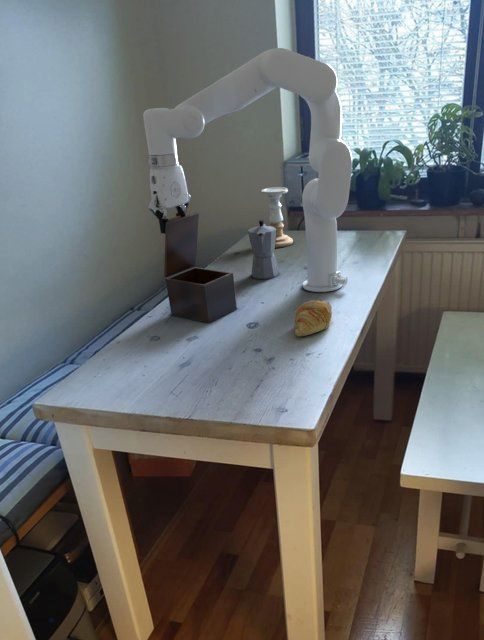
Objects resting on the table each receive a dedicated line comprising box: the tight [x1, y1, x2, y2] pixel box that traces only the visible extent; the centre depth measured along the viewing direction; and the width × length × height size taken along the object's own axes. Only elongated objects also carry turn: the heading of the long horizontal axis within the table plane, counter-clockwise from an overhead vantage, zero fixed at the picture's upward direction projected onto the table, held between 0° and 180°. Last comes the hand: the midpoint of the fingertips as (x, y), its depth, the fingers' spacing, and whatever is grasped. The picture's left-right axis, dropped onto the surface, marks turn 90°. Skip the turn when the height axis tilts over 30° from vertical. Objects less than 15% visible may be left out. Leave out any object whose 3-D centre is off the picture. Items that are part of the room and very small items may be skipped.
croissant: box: [294, 299, 333, 337], centre depth 163 cm, size 21×10×8 cm, turn 156°
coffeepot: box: [247, 219, 279, 280], centre depth 203 cm, size 15×9×18 cm, turn 176°
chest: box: [165, 266, 238, 324], centre depth 177 cm, size 15×13×11 cm
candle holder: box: [260, 186, 294, 248], centre depth 236 cm, size 12×12×20 cm
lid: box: [163, 212, 200, 279], centre depth 173 cm, size 16×13×5 cm
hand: (174, 230), depth 171 cm, fingers closed on lid, 6 cm apart
